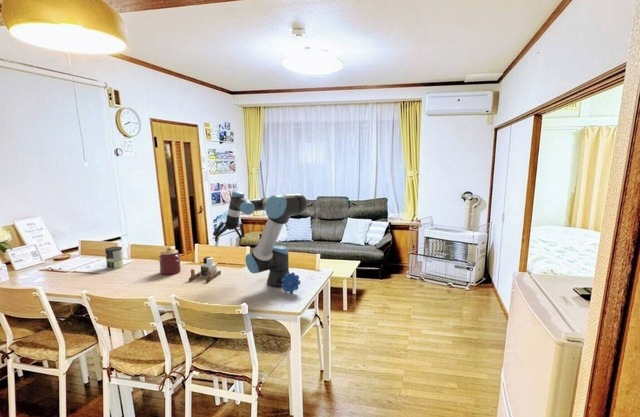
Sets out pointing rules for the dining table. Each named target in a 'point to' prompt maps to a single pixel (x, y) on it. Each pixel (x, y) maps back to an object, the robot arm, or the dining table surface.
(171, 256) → the canister
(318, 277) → the dining table surface
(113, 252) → the coffee can
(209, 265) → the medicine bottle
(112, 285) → the dining table surface
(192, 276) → the guide channel
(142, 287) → the dining table surface
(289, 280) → the grapes
